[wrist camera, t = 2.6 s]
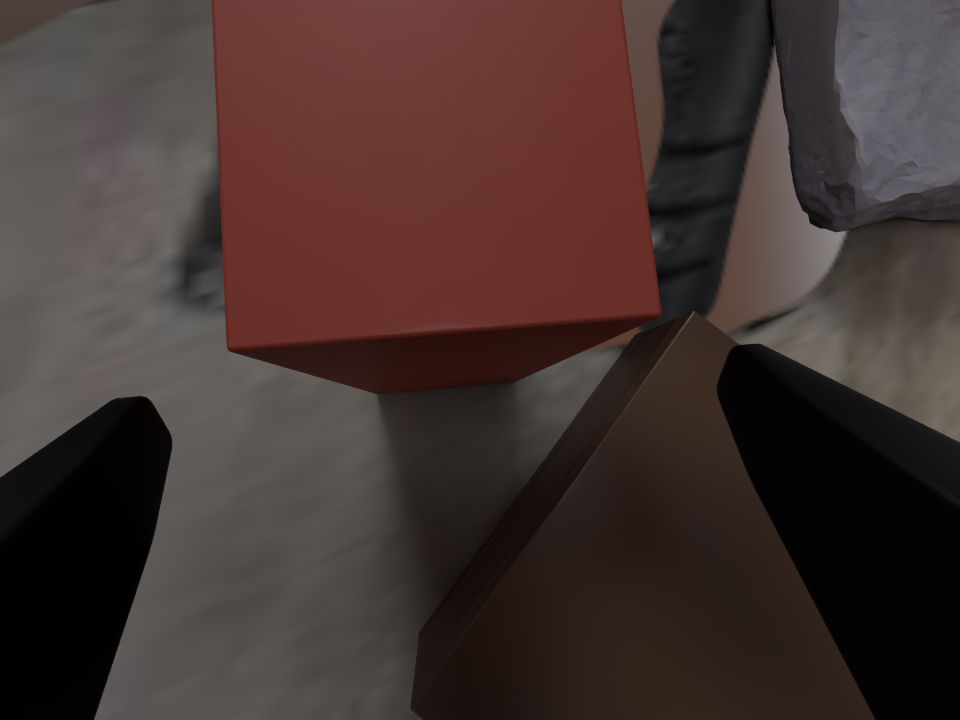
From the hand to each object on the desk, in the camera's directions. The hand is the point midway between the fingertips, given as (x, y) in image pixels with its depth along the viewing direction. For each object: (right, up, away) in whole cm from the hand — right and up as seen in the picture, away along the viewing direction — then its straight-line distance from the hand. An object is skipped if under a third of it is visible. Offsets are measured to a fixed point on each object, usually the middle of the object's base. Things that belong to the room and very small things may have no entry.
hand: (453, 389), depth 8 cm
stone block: (+17, +11, +13) cm, 24 cm away
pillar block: (-1, +2, +10) cm, 11 cm away
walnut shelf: (+7, -7, +10) cm, 14 cm away
